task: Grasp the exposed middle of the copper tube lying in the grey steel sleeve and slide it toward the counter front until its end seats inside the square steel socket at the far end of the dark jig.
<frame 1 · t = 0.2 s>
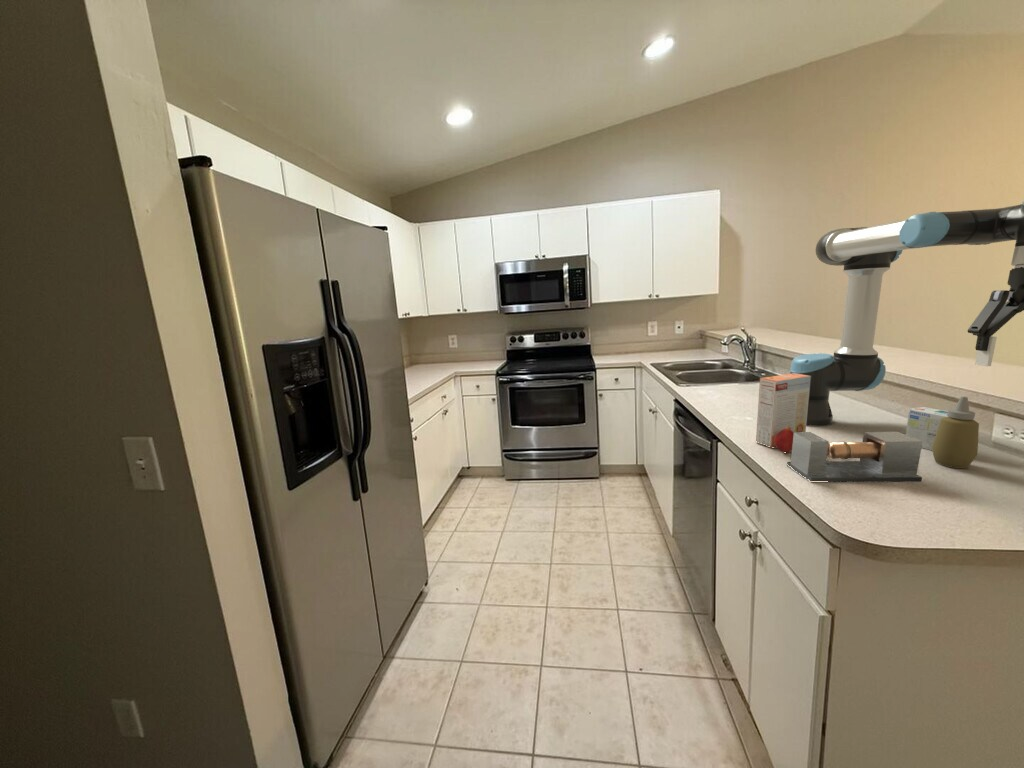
hand: (1017, 364, 90), 28 cm above the countertop, tool pointing down, fingers open, 13 cm apart
cracker box: (779, 443, 125), on the countertop
squeeze bottle: (951, 465, 105), on the countertop
light bulb box: (932, 448, 116), on the countertop
jig: (850, 473, 102), on the countertop
onion: (784, 453, 117), on the countertop
copper tube: (868, 450, 101), point 6 cm above the countertop, slide at 0.0 cm
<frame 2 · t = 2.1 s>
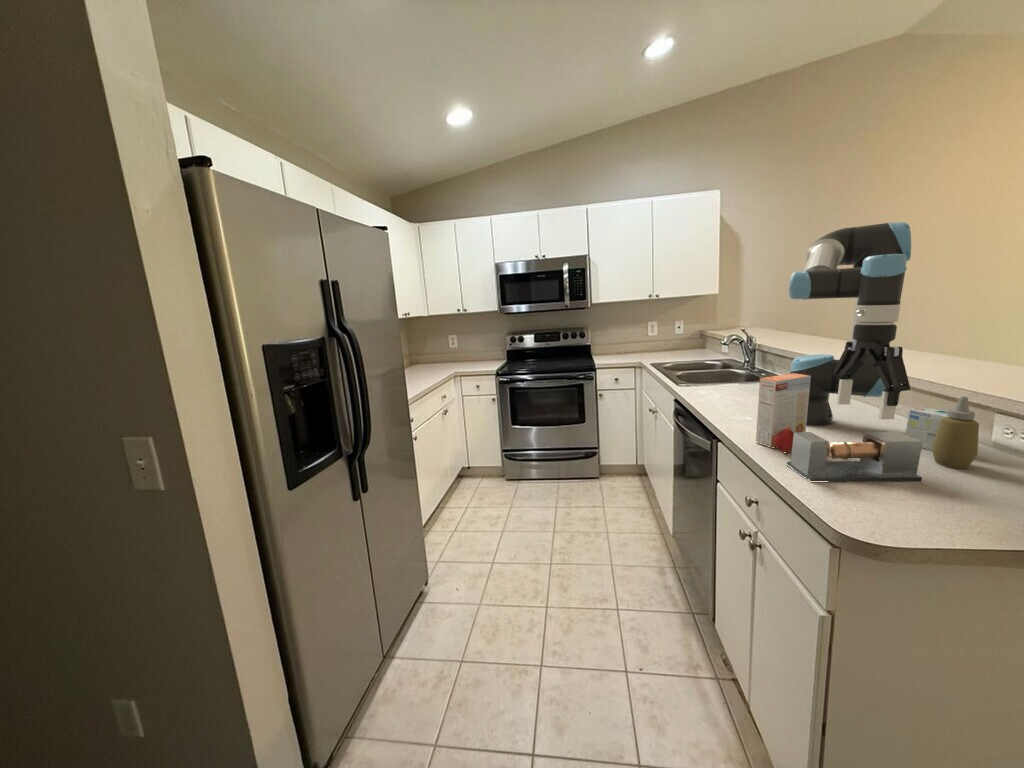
hand: (863, 411, 99), 16 cm above the countertop, tool pointing down, fingers open, 13 cm apart
nothing on the countertop moved.
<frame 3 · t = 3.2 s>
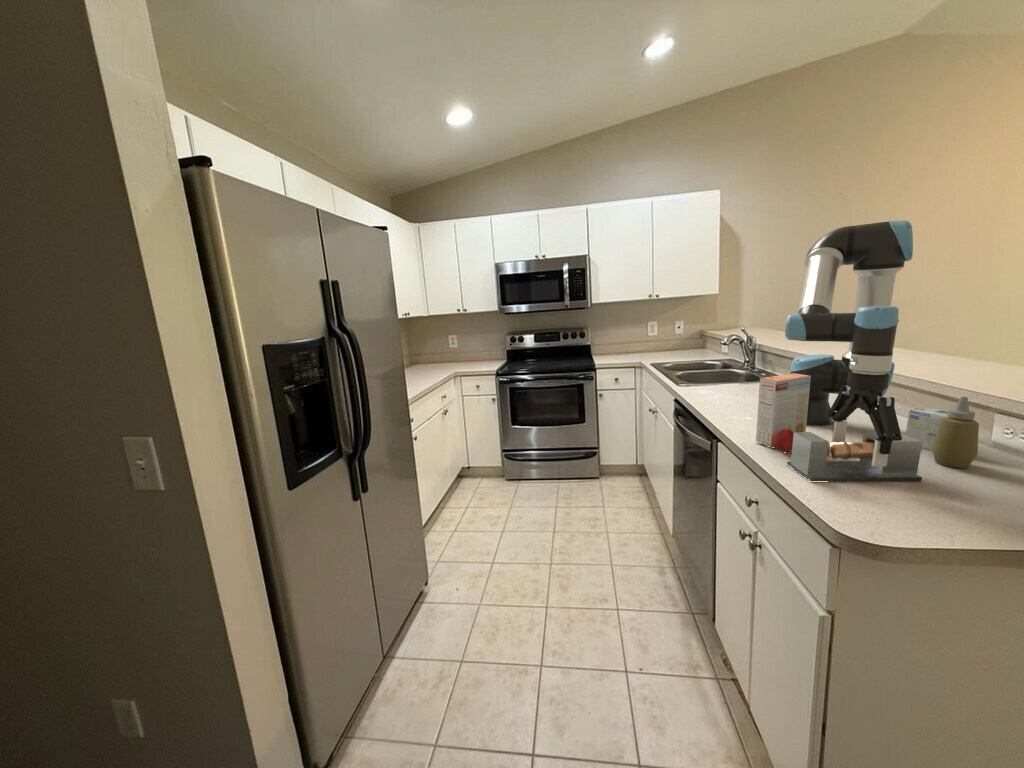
hand: (857, 454, 101), 5 cm above the countertop, tool pointing down, fingers open, 13 cm apart
nothing on the countertop moved.
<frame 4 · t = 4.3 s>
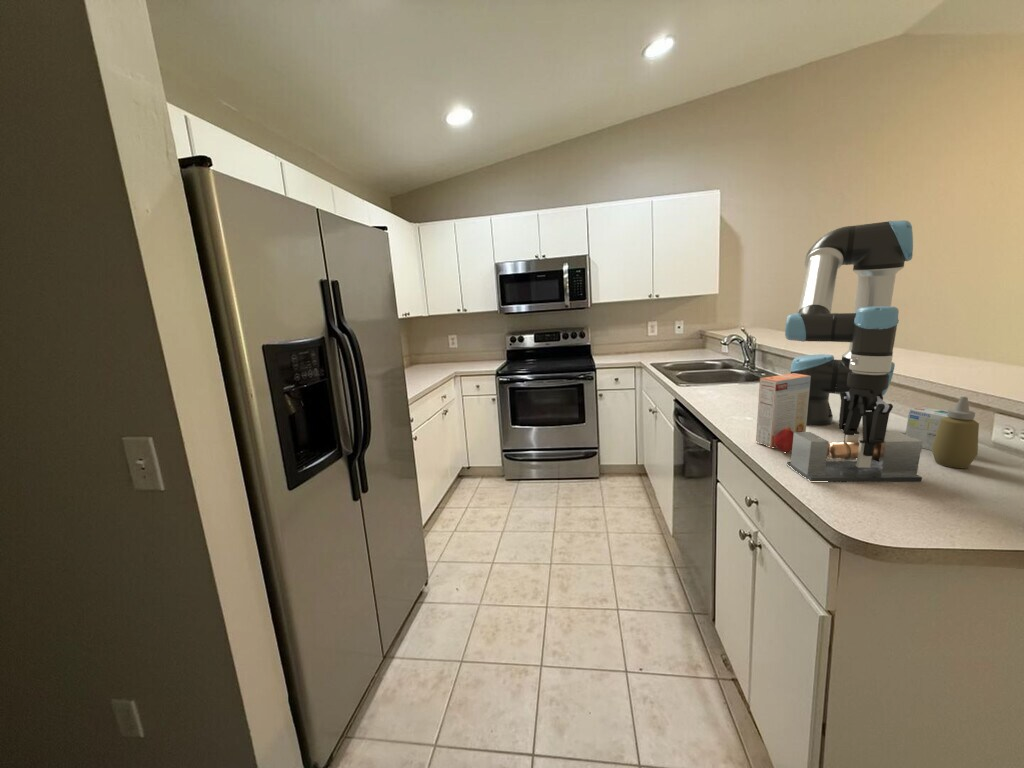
hand: (855, 462, 102), 3 cm above the countertop, tool pointing down, fingers closed on copper tube, 4 cm apart
copper tube: (868, 450, 101), point 6 cm above the countertop, slide at 0.0 cm, touching gripper
everything else where it was.
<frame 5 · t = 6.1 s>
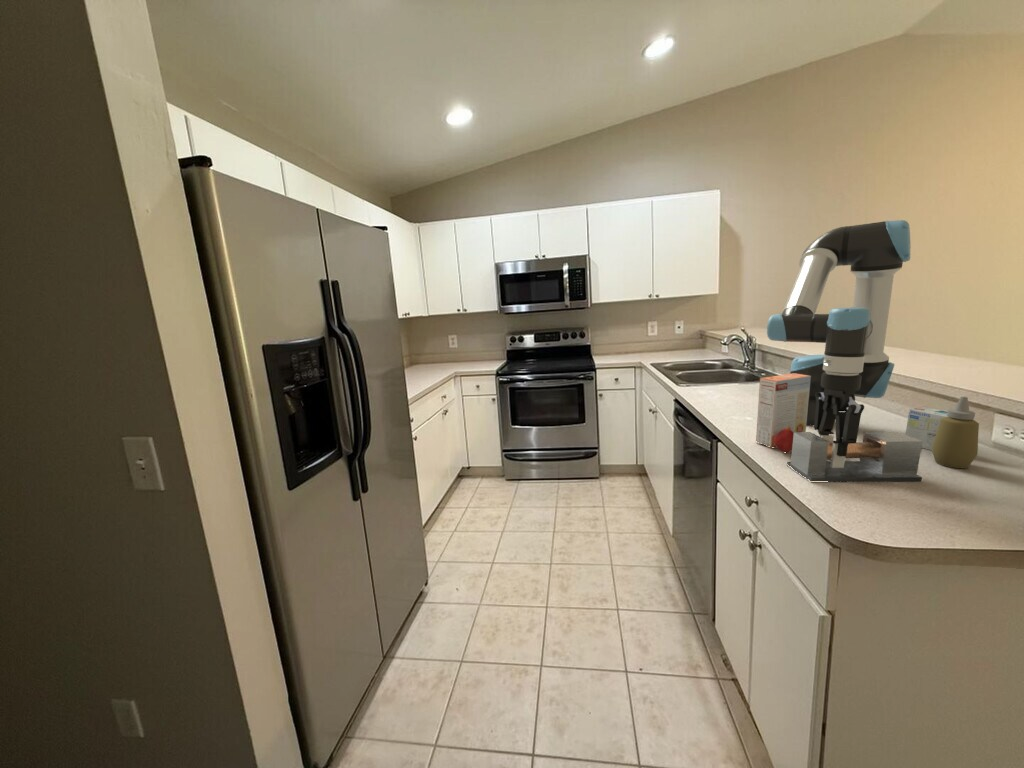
hand: (830, 463, 102), 3 cm above the countertop, tool pointing down, fingers closed on copper tube, 4 cm apart
copper tube: (842, 450, 101), point 6 cm above the countertop, slide at 6.0 cm, touching gripper
everything else where it was.
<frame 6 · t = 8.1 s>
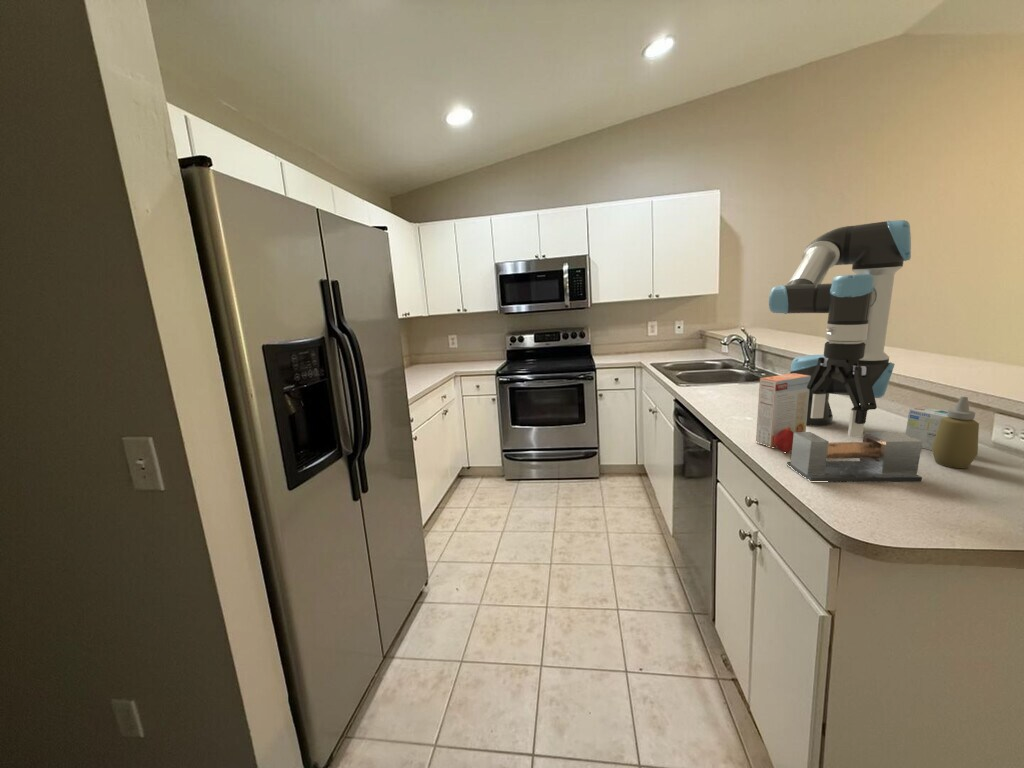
hand: (834, 426, 101), 12 cm above the countertop, tool pointing down, fingers open, 13 cm apart
copper tube: (842, 450, 101), point 6 cm above the countertop, slide at 6.0 cm
everything else where it was.
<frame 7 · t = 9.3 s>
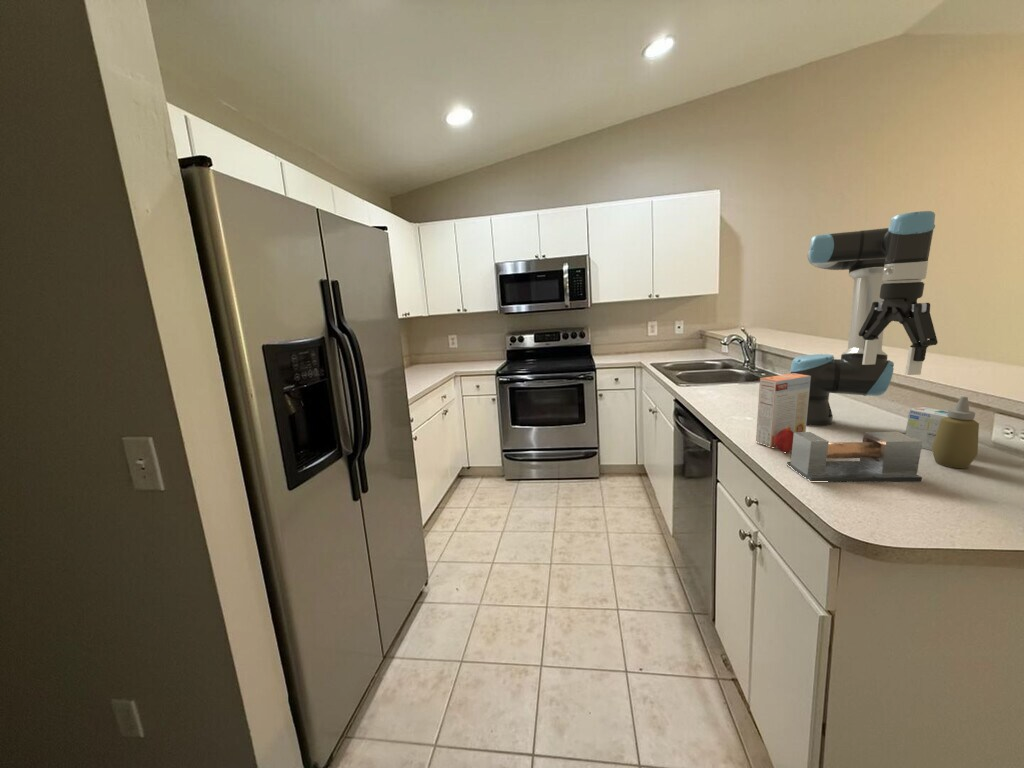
hand: (889, 369, 101), 26 cm above the countertop, tool pointing down, fingers open, 13 cm apart
nothing on the countertop moved.
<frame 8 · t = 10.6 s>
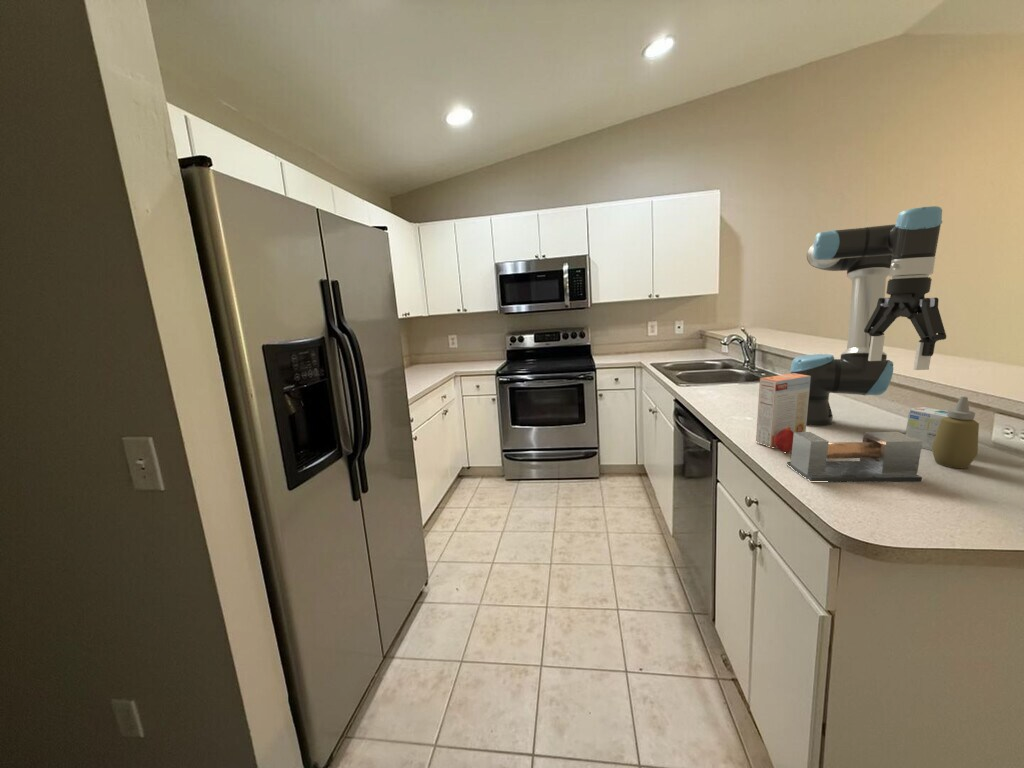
hand: (896, 365, 101), 27 cm above the countertop, tool pointing down, fingers open, 13 cm apart
nothing on the countertop moved.
at the end: copper tube slide at 6.0 cm; the gripper is holding nothing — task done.
